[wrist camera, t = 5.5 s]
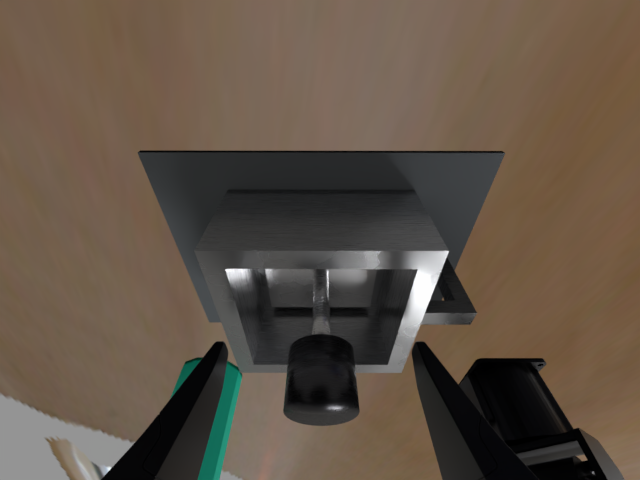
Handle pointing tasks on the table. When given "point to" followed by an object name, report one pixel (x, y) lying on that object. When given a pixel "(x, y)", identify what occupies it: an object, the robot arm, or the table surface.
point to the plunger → (321, 343)
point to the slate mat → (316, 188)
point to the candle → (217, 418)
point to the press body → (328, 253)
